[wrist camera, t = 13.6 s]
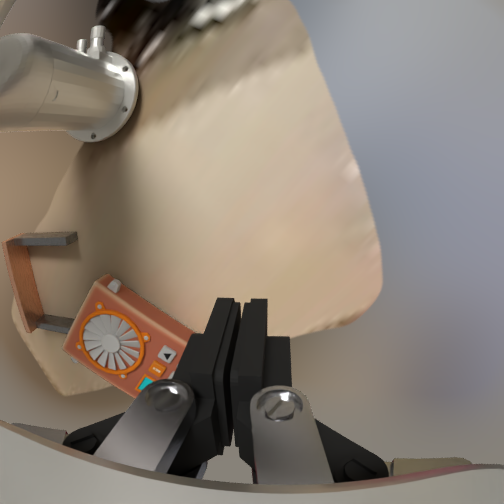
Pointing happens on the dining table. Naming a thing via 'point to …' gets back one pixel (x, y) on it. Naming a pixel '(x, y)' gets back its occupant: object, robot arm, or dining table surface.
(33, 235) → the docking guide
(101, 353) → the control panel
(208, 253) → the dining table surface
